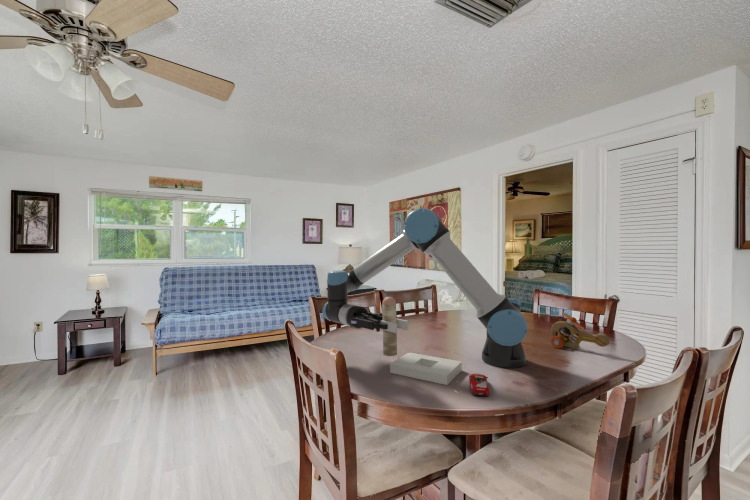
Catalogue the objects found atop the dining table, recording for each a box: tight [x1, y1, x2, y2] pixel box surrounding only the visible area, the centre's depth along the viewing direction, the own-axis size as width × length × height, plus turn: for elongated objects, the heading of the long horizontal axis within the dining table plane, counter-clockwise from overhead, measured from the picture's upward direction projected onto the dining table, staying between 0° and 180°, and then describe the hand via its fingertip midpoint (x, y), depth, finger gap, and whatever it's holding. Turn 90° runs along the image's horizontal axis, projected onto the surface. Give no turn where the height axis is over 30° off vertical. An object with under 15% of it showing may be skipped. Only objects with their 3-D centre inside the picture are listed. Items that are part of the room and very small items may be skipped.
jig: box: [389, 351, 463, 386], centre depth 114 cm, size 20×14×3 cm
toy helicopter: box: [550, 312, 611, 351], centre depth 134 cm, size 8×21×14 cm, turn 39°
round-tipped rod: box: [381, 296, 398, 357], centre depth 108 cm, size 4×4×18 cm
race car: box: [468, 373, 490, 397], centre depth 101 cm, size 13×5×4 cm, turn 167°
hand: (402, 326), depth 104 cm, fingers closed on round-tipped rod, 4 cm apart
